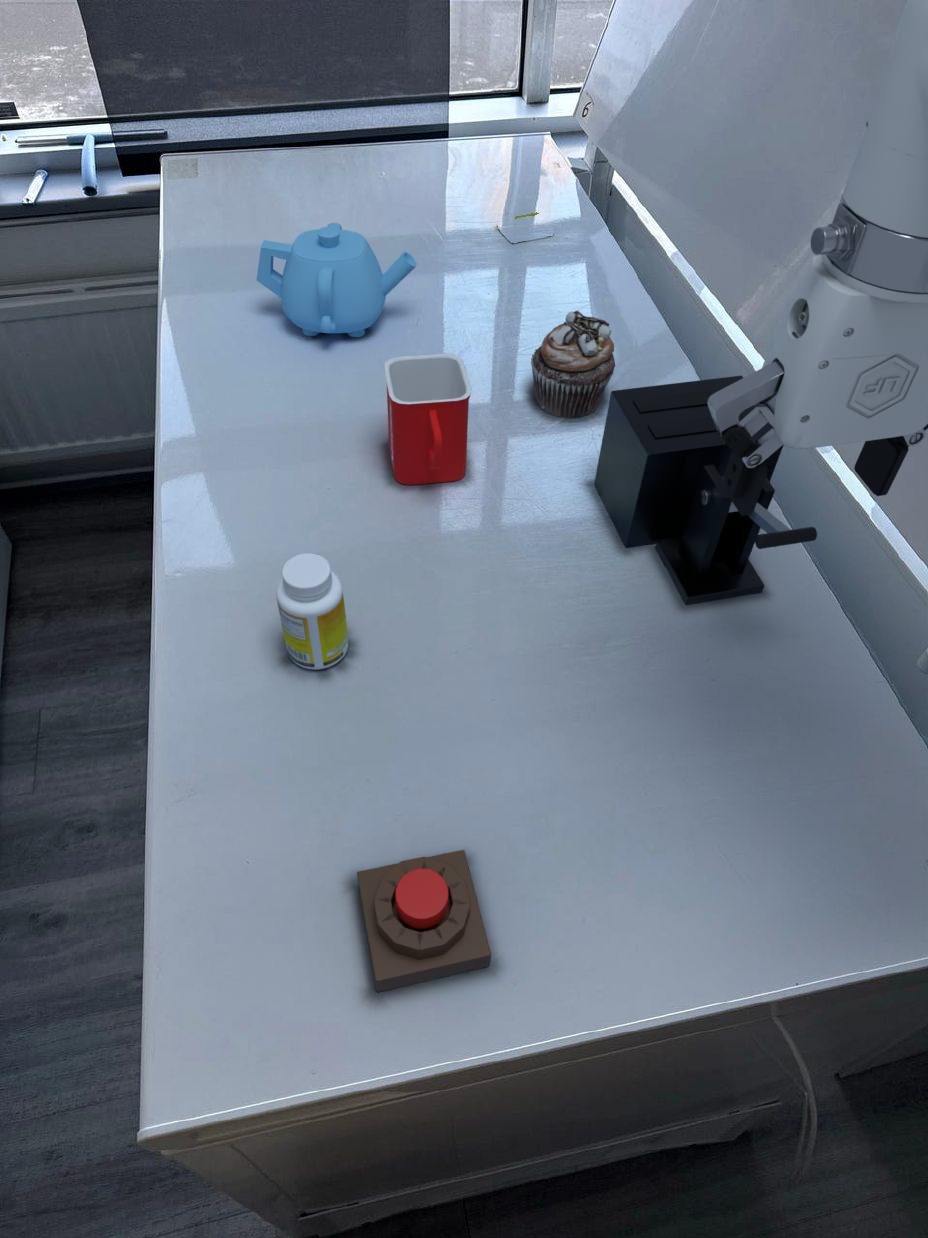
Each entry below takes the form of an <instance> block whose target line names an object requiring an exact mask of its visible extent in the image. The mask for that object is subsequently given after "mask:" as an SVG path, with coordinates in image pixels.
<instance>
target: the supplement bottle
mask: <svg viewBox="0 0 928 1238" xmlns="http://www.w3.org/2000/svg"><path fill="white" fill-rule="evenodd" d="M281 576H282V577H281V578H280V580H279V581H278V583H277V584H276V585H277V586H276V589H275V599H276V603H277V609H278V614H279V617H280V623H281V627H282V633H283V637H284V643H285V649H286V652H287V654H288V656H289V658H290V659H291V661H293V662H294V663H295V664H296V665H298V666H299V667H301V668H304V669H308V670H323V669H327V668H330V667H332V666H334V665H336V664H337V663H339V662H340V661H341V660H342V659H343V658H344V657H345V655H346V653H347V651H348V648H349V634H348V624H347V616H346V615H347V614H346V606H345V600H344V598H345V597H344V589H343V584H342V581H341V579H340V577H339V576H338V575H337V574H336V572H334V571H332V570H331V565H330V563H329V561H328V560H327V559H326V558H324V557H323V556H321V555H319V554H316V553H299V554H297V555H294V556H292V557H291V558H289V559H288V560H286V562H285V563H284V565H283V566H282V571H281Z"/></svg>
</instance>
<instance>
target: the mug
mask: <svg viewBox="0 0 928 1238" xmlns="http://www.w3.org/2000/svg"><path fill="white" fill-rule="evenodd" d="M383 364H384V365H383V370H384V376H385V380H386V402H387V425H388V426H387V427H388V450H389V455H390V460H391V461H390V462H391V467H392V472H393V477H394V479H395V480H396V482H398V483H400V484H402V485H407V486H415V485H426V484H439V483H449V482H456V481H460V480H462V479H463V478H464V477H465V476H466V472H467V451H468V429H469V428H468V427H469V426H468V425H469V404H470V398H471V395H472V386H471V383H470V379H469V376H468V373H467V370H466V369H467V368H466V365H465V362H464V360H463V359H462V358H461V357H460V356H459V355H456V354H454V353H434V354H417V355H403V356H401V355H400V356H394V357H390V358H389V359H387V360H386V361H384V363H383Z"/></svg>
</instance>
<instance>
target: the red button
mask: <svg viewBox="0 0 928 1238" xmlns="http://www.w3.org/2000/svg"><path fill="white" fill-rule="evenodd" d="M448 895H449V893H448V887H447V884H446V882H445V880H444V879H443V878H442V876H441V875H439V874H438V873H437V872H435V871H433V870H430V869H424V868H420V869H415V870H412V871H410V872H408V873H406V874H405V875H404V876H403V877H402V878H401V879H400V881H399V882H398V884H397V887H396V892H395V898H396V909H397V912H398V915H399V917H400V918H401V919H402V921H403V922H405V923H406V924H407V925H409V926H411V927H414V928H419V929H425V928H429V927H432V926H434V925H436V924H438V923H439V922H440V921H441V920H442V919H443V917H444V916H445V914H446V912H447V908H448Z"/></svg>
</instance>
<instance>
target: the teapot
mask: <svg viewBox="0 0 928 1238" xmlns="http://www.w3.org/2000/svg"><path fill="white" fill-rule="evenodd" d="M342 227H343V226H342V225H341V223H339V222H331V223H329V224H327V226H323V227H320V228H317V229H311V230H306V231H303V232H301V233H300V234H299V235H297V236H296V238H295V239H294V241H293V243H292V244H290V243H286V242H278V241H272V240H266V239H263V241H262V243H261V246H260V251H259V259H258V266H257V273H256V282H258V283H259V284H260V285H262V286H264V287H265V288H266V289H268V290H269V291H270V292H272V294H274V295H275V296H277V297H278V298H280V300H281V308H282V311H283V312H284V314H285V316H286V317H287V319H289V320H290V321H291V322H292V323H293V324H294V325H295V326H297V327H298V328H301V329H302V330H301V332H302V334H303V335H305V336H307V337H314V336H315V337H316V336H318V335H320V333H324V334H345V333H346V334H347V335H348V336H349V337H352V338H360V337H363V336H364V335H365V334H366V329H368V328H370V327H371V326H372V325H374V324H375V322H376V321H377V320H378V318H379V317H380V315H381V314H382V311H383V309H384V307H385V303H386V296H387V295H388V294H390V293H391V291H392V290H393V289H395V288H396V287H397V286H398V285H399V284H400V283H401V282H402V281H403V280H404V279H405V278H406V277H407V276H408V275H409V274H411V272H412V271H413V270H414V269H416V268H417V266H418V263H417V260H416V258H415V257H414V256H413V255H412V254H410V252H407V251H404V252H403V253H401V255H400V256H399V257H398V258H397V259H396V260H395V261H394V262H393V263H392V264H391V265H390V266H389V268H387V270H385V272H384V273H383V271H382V269H381V266H380V263H379V260H378V258H377V256H376V254H375V253H374V250H373V249H372V247H371V245H370V243H369V242H368V240H367V239H366V238H365V236H364V235H362V234H361V233H359V232H357V231H353V230H349V229H348V230H347V229H342ZM274 258H276V259H280V260H285V264H284V267H283V271H282V274H281V273H279V272H278V271H276V270H275V269H274Z"/></svg>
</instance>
